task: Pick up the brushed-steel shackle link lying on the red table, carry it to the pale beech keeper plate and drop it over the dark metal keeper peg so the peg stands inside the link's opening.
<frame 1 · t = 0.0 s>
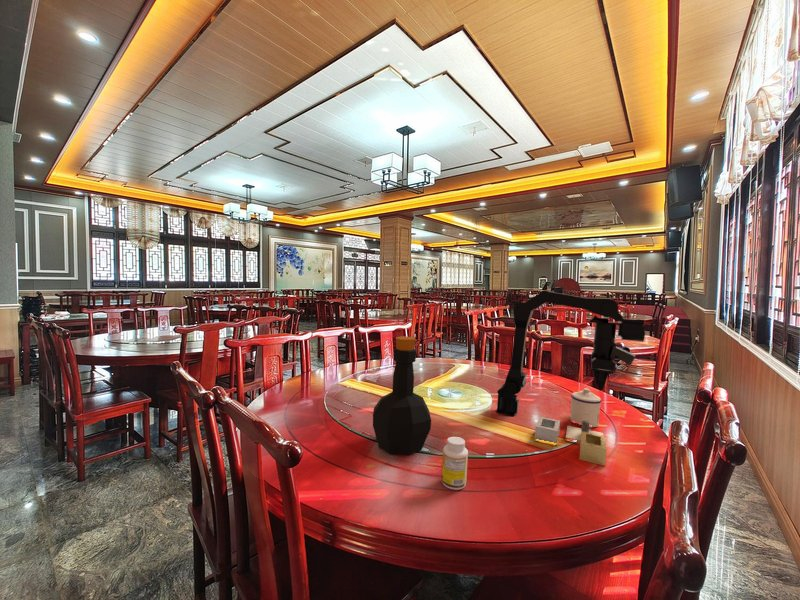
hand: (600, 386, 116), 15 cm above the table, tool pointing down, fingers open, 9 cm apart
bottle: (399, 446, 100), on the table
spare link: (592, 455, 100), on the table
link: (547, 437, 110), on the table
supplement bottle: (453, 484, 83), on the table
teacup with lid: (581, 421, 125), on the table
keeper: (584, 438, 110), on the table
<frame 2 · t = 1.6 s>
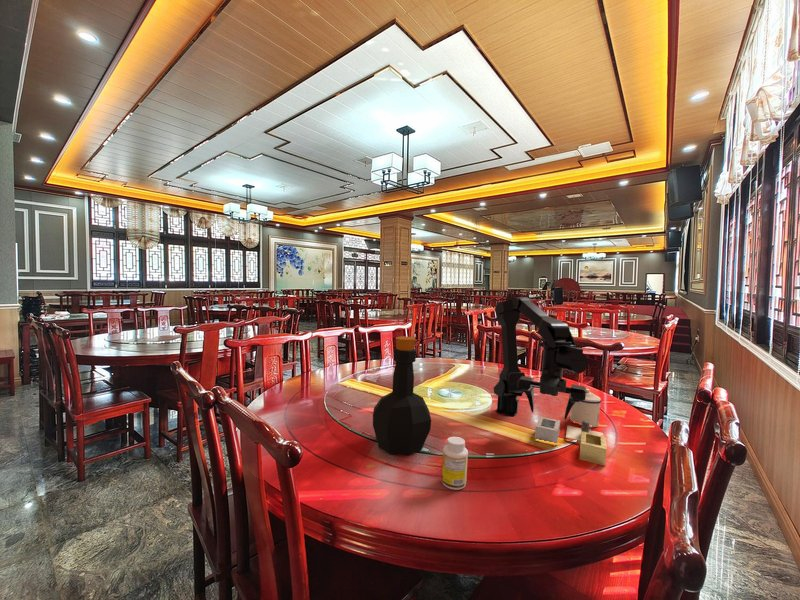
hand: (548, 415, 109), 7 cm above the table, tool pointing down, fingers open, 9 cm apart
nothing on the table moved.
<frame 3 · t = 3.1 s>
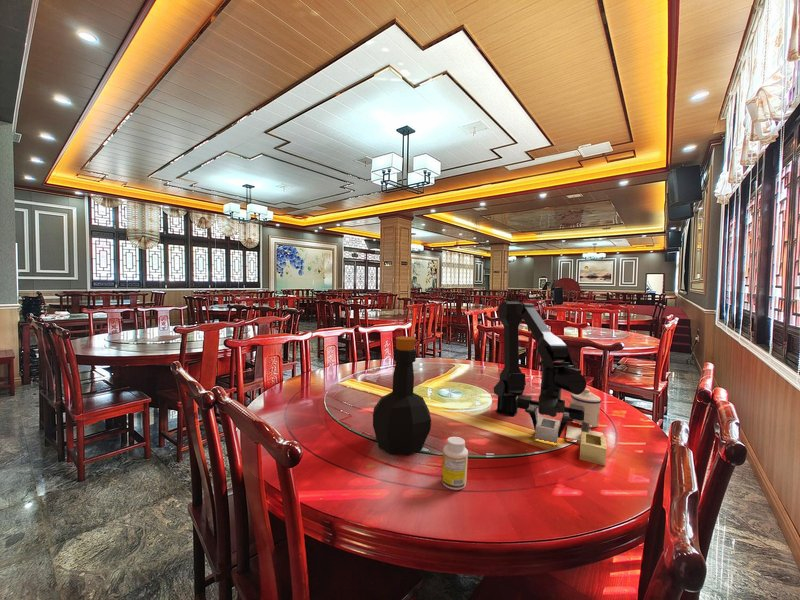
hand: (547, 434, 110), 1 cm above the table, tool pointing down, fingers closed on link, 6 cm apart
link: (547, 437, 110), on the table, touching gripper
everything else where it was.
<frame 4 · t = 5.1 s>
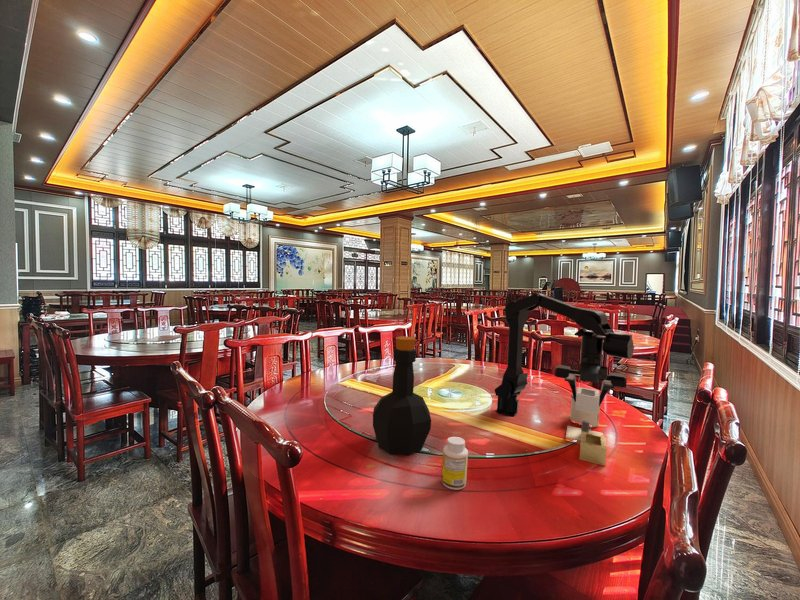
hand: (587, 403, 110), 11 cm above the table, tool pointing down, fingers closed on link, 6 cm apart
link: (586, 406, 110), point 10 cm above the table, touching gripper
everything else where it was.
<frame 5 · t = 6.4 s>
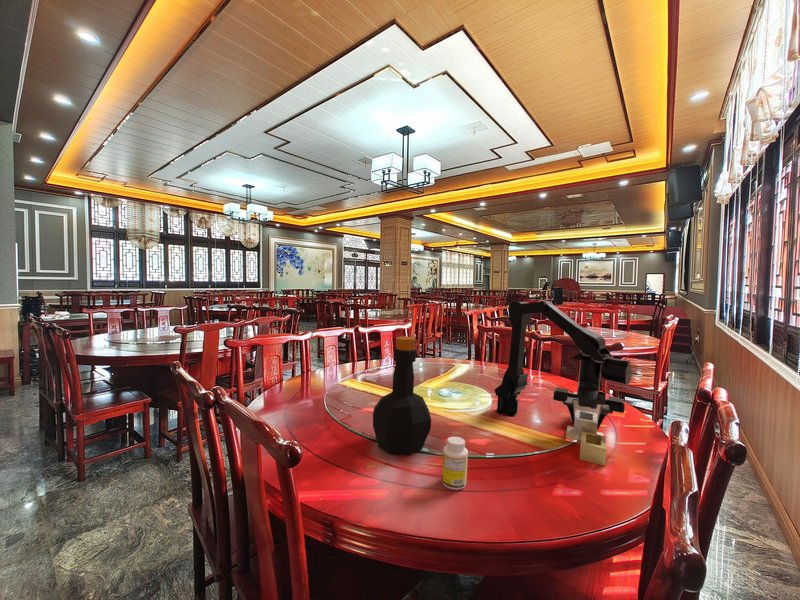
hand: (585, 427, 110), 4 cm above the table, tool pointing down, fingers closed on link, 6 cm apart
link: (584, 430, 110), point 3 cm above the table, touching gripper
everything else where it was.
when the fingers open (3 cm above the table, at t = 7.3 s): link drops 1 cm, resting on keeper.
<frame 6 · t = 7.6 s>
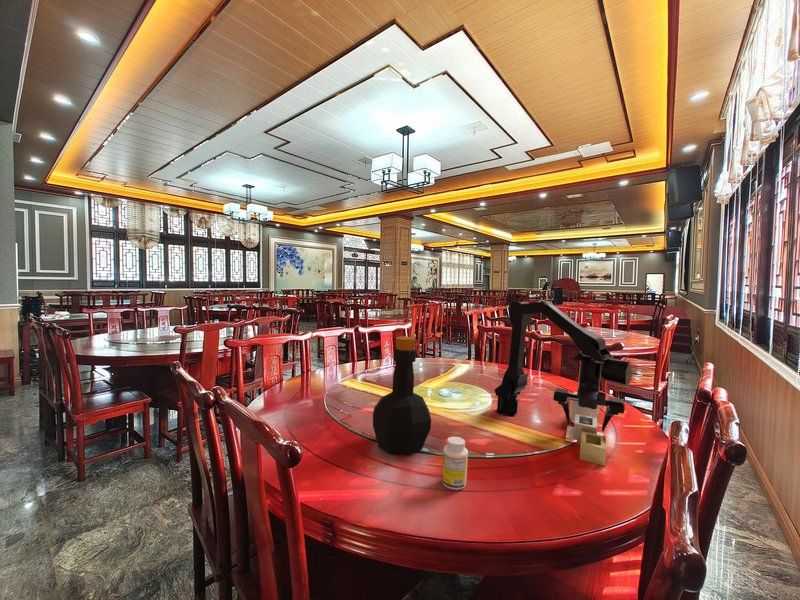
hand: (585, 427, 110), 3 cm above the table, tool pointing down, fingers open, 9 cm apart
link: (584, 435, 110), point 1 cm above the table, touching keeper
everything else where it was.
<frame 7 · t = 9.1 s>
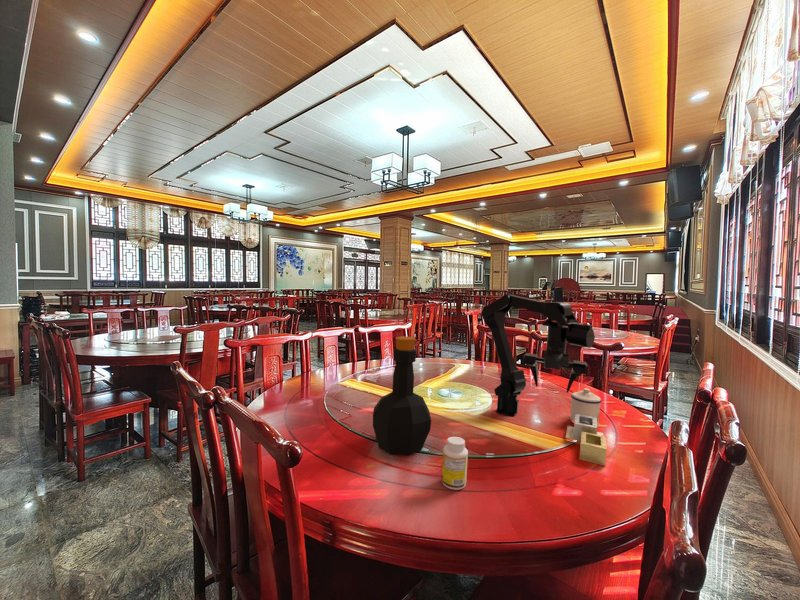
hand: (551, 389, 117), 13 cm above the table, tool pointing down, fingers open, 9 cm apart
nothing on the table moved.
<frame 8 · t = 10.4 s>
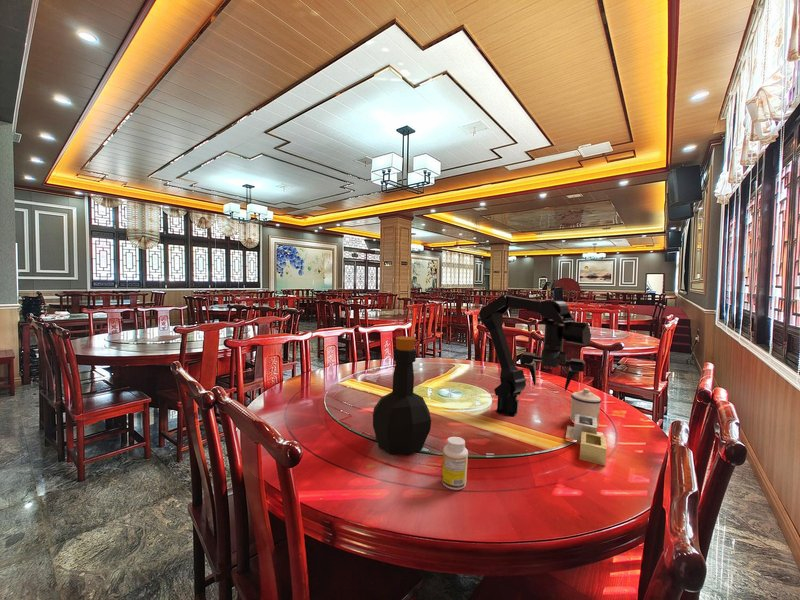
hand: (549, 387, 117), 13 cm above the table, tool pointing down, fingers open, 9 cm apart
nothing on the table moved.
at the end: link 0.1 cm off-centre on the keeper, point 1.2 cm above the keeper's base; the gripper is holding nothing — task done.
